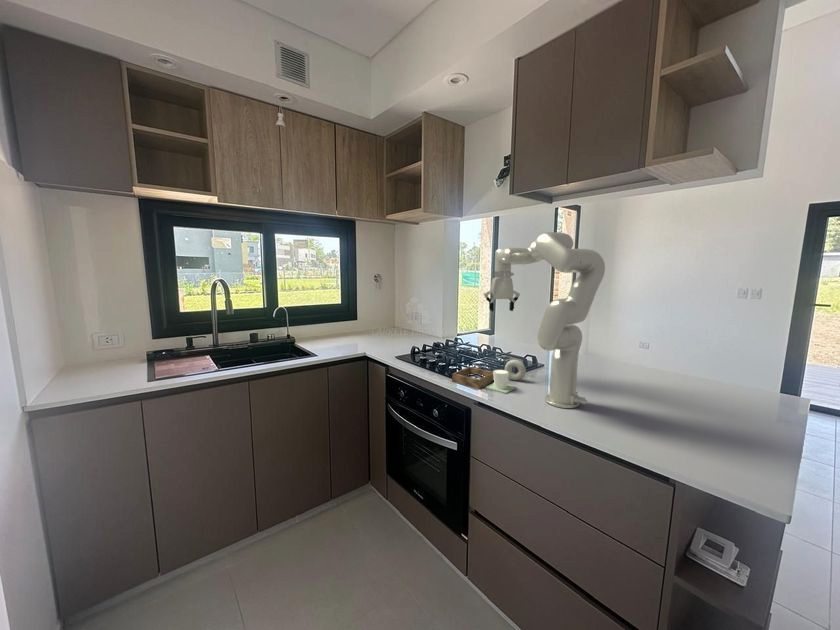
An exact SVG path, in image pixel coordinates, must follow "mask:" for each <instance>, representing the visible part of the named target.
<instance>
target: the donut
mask: <svg viewBox="0 0 840 630" xmlns="http://www.w3.org/2000/svg"><path fill="white" fill-rule="evenodd" d="M514 367H515V368H517V369H518V371H517V372H513V368H514ZM504 370H506V371H508V372H509V377H508V379H510V380H512V381H520V380H522V379H523V378H524V377H525V376H526V372H527V370H526V367H525V364H524V363H523V362H522V361H520V360H519V359H511V360H509V361H507V362H506V363H505V366H504Z"/></svg>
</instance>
